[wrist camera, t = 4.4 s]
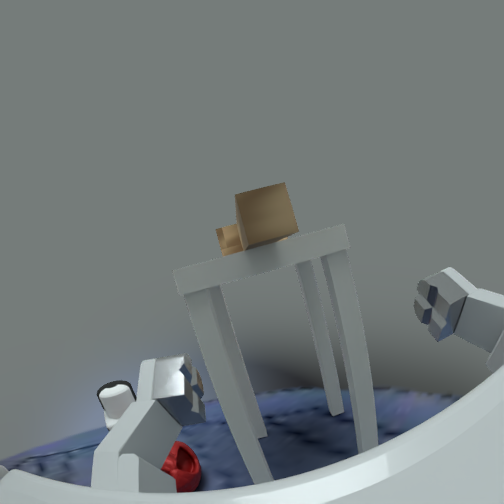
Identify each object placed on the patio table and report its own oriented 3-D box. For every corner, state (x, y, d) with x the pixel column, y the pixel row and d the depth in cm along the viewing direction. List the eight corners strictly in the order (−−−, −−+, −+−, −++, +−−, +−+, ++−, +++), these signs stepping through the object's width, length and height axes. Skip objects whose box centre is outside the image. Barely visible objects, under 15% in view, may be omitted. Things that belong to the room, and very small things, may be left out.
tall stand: (259, 500, 21) (171, 270, 21) (252, 431, 36) (199, 265, 36) (382, 461, 21) (344, 223, 22) (341, 405, 36) (303, 237, 37)
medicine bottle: (120, 442, 36) (91, 384, 36) (154, 430, 40) (128, 373, 40) (126, 461, 30) (92, 398, 30) (165, 447, 34) (135, 385, 34)
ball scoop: (206, 256, 13) (191, 198, 13) (226, 258, 33) (220, 235, 33) (337, 221, 13) (320, 166, 13) (278, 243, 33) (272, 220, 33)
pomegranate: (126, 486, 24) (94, 435, 24) (180, 456, 32) (156, 407, 32) (162, 522, 18) (121, 470, 18) (225, 481, 25) (198, 428, 25)
